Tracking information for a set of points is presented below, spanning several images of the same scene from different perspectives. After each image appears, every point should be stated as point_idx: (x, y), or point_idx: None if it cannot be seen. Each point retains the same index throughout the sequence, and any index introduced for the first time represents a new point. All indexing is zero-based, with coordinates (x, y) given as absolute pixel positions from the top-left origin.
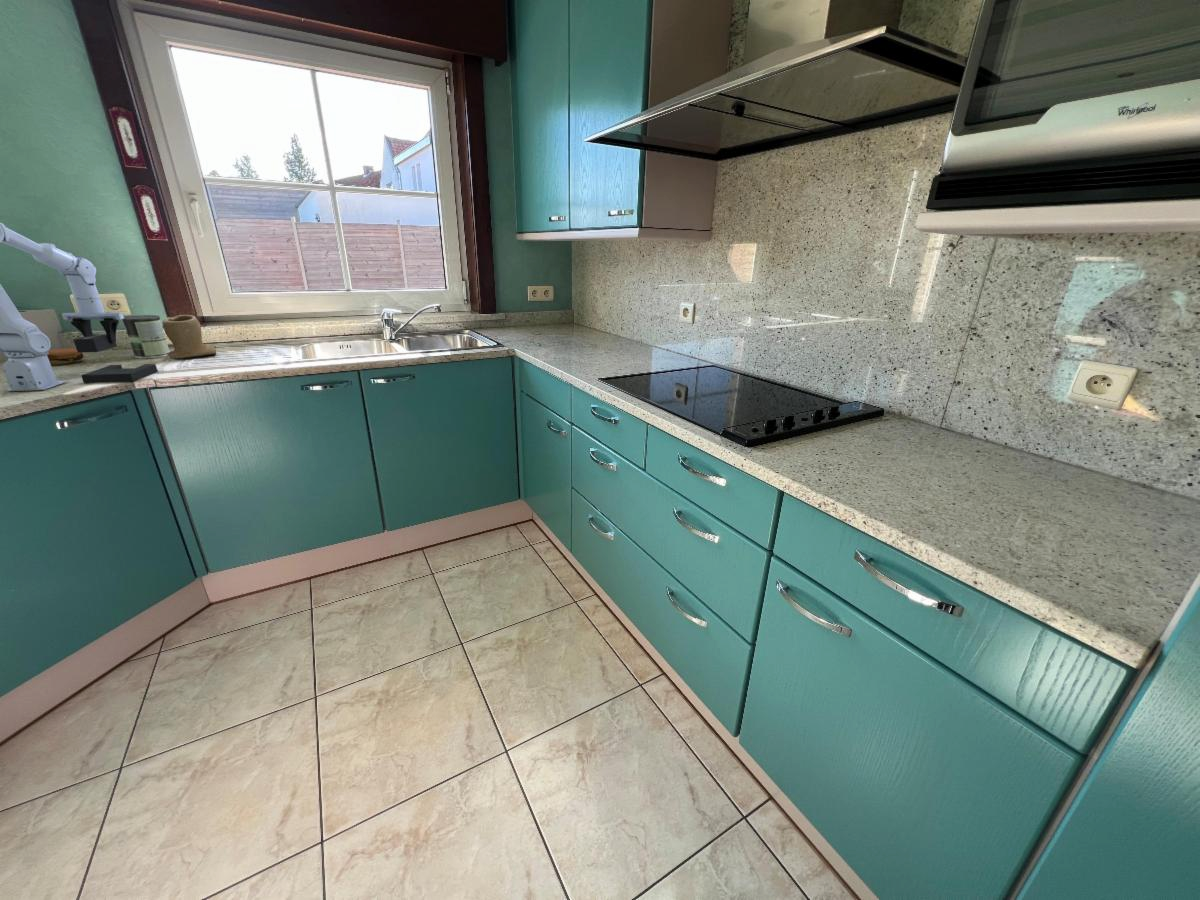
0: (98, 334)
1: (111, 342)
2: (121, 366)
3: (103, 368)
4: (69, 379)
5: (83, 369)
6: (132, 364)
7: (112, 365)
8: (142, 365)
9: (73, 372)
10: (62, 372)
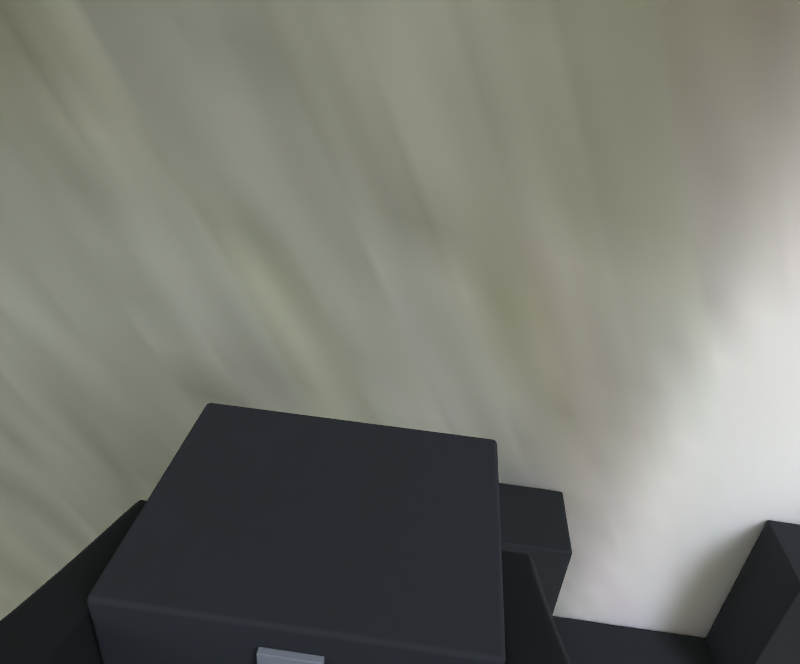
0: (206, 645)
1: None
2: (569, 542)
3: None
4: None
5: (100, 237)
6: (507, 28)
7: None
8: (781, 633)
9: (114, 366)
10: (15, 340)
